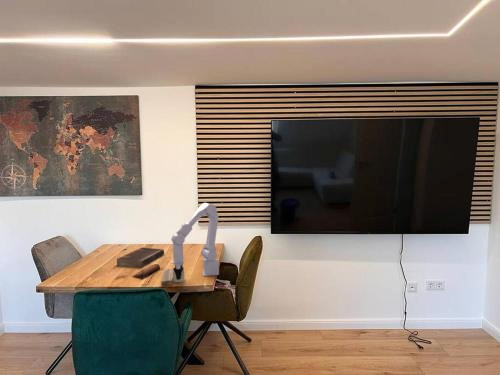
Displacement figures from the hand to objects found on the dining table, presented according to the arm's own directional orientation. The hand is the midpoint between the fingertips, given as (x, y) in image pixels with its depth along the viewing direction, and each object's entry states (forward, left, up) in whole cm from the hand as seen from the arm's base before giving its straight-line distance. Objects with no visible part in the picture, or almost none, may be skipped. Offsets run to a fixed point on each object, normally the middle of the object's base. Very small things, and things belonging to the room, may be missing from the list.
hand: (178, 276), depth 179 cm
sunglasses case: (+20, -17, -3) cm, 26 cm away
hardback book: (+26, -45, -3) cm, 52 cm away
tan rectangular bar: (+6, -4, -2) cm, 8 cm away
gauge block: (0, 0, -2) cm, 2 cm away
